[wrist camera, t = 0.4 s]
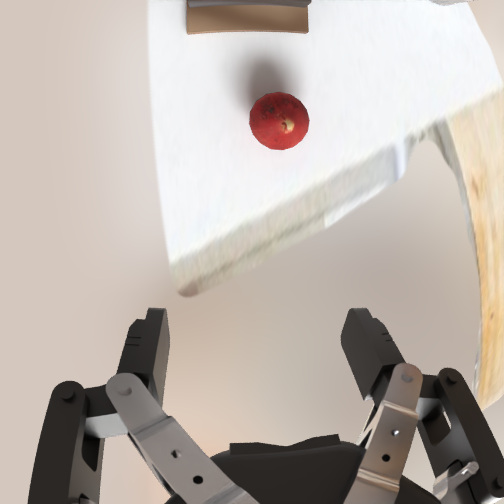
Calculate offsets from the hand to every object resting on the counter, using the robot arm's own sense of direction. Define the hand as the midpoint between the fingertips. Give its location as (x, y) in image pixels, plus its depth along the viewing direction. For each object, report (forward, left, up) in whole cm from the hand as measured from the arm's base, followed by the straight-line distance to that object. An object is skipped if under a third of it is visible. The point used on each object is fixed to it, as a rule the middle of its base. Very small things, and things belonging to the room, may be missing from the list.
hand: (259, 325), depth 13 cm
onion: (-8, -1, -25) cm, 26 cm away
